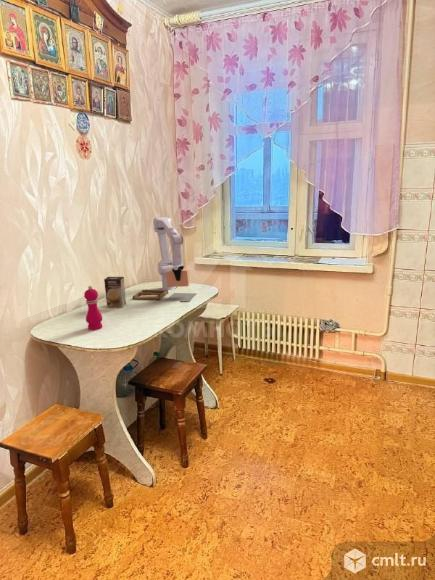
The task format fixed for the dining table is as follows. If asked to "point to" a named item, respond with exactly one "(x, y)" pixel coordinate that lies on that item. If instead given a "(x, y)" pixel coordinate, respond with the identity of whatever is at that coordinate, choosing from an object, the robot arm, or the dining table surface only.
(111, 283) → the coffee box
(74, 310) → the dining table surface
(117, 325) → the dining table surface
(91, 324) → the pepper mill
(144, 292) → the rack
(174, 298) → the mat
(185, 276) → the salmon orange block
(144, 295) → the offcut top
